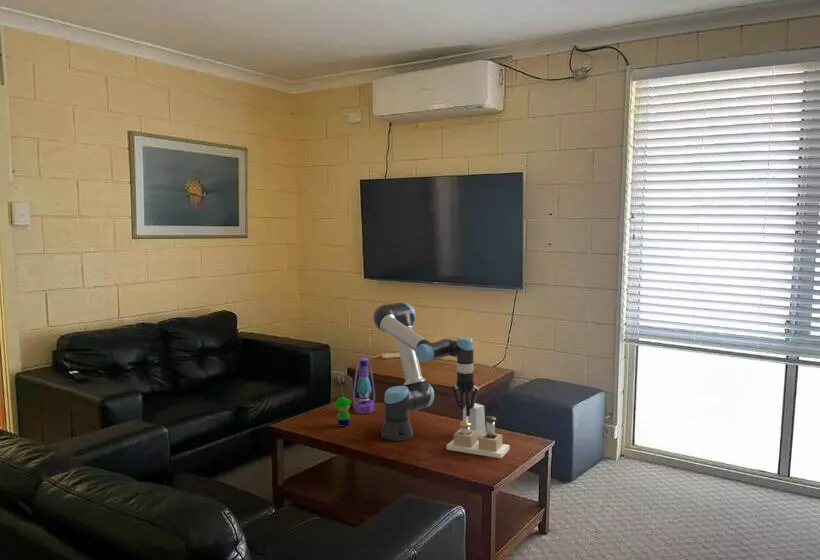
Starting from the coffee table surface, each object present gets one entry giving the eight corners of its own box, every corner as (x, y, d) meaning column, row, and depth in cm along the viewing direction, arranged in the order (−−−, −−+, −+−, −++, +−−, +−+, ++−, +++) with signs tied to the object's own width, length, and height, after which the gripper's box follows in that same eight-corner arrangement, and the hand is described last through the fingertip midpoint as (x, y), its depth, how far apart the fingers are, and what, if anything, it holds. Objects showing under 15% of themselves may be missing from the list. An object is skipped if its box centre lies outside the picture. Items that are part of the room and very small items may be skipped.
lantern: (369, 406, 352) (368, 354, 349) (380, 411, 342) (379, 357, 339) (348, 410, 345) (347, 357, 342) (358, 415, 335) (357, 360, 332)
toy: (355, 424, 320) (355, 396, 319) (345, 429, 313) (344, 400, 312) (342, 421, 325) (341, 393, 324) (331, 426, 318) (330, 397, 316)
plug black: (483, 439, 279) (483, 418, 278) (487, 435, 284) (486, 415, 283) (494, 440, 277) (494, 420, 276) (497, 437, 281) (497, 416, 281)
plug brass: (458, 443, 285) (458, 423, 284) (462, 440, 289) (462, 420, 289) (468, 445, 282) (468, 425, 282) (473, 441, 287) (472, 422, 286)
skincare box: (485, 435, 301) (485, 405, 300) (476, 438, 298) (475, 408, 297) (474, 431, 308) (474, 401, 307) (465, 433, 305) (464, 403, 304)
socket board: (446, 449, 284) (446, 434, 283) (456, 441, 295) (456, 426, 294) (501, 458, 272) (501, 442, 272) (509, 449, 283) (509, 434, 282)
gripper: (448, 372, 282) (449, 423, 285) (475, 375, 277) (476, 426, 279) (455, 368, 289) (455, 418, 291) (481, 371, 283) (482, 421, 285)
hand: (465, 422), depth 285 cm, fingers closed
